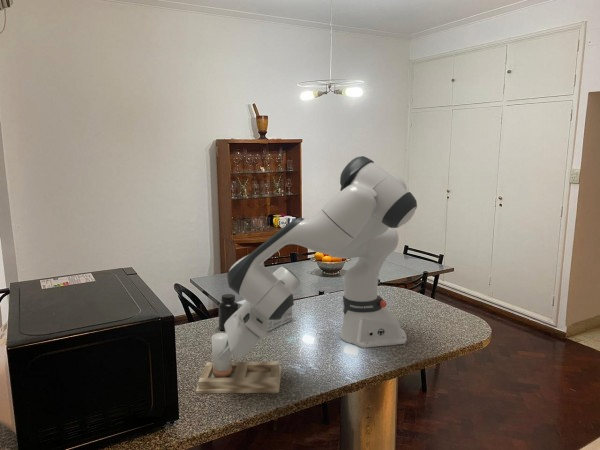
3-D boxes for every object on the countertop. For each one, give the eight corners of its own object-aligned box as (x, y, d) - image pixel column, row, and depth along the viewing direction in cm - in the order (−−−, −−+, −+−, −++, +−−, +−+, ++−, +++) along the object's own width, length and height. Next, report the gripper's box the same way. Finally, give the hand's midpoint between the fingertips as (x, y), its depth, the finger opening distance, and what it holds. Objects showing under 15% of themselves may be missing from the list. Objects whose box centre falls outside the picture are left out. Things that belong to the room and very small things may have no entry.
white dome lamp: (233, 368, 126) (231, 332, 124) (230, 378, 121) (228, 340, 119) (215, 369, 126) (213, 332, 124) (211, 378, 121) (209, 340, 119)
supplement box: (267, 312, 175) (266, 290, 173) (292, 320, 167) (292, 296, 165) (235, 326, 162) (234, 301, 161) (261, 335, 154) (260, 309, 152)
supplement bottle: (235, 331, 157) (235, 298, 155) (216, 330, 157) (216, 298, 156) (239, 324, 164) (239, 293, 162) (221, 323, 164) (221, 292, 162)
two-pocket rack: (281, 368, 130) (281, 359, 129) (278, 392, 117) (278, 382, 116) (206, 369, 130) (206, 360, 129) (195, 393, 117) (195, 383, 117)
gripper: (240, 297, 132) (208, 332, 131) (250, 323, 112) (213, 364, 111) (255, 310, 134) (224, 344, 133) (268, 337, 114) (231, 377, 113)
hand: (219, 353), depth 122 cm, fingers closed on white dome lamp, 5 cm apart
